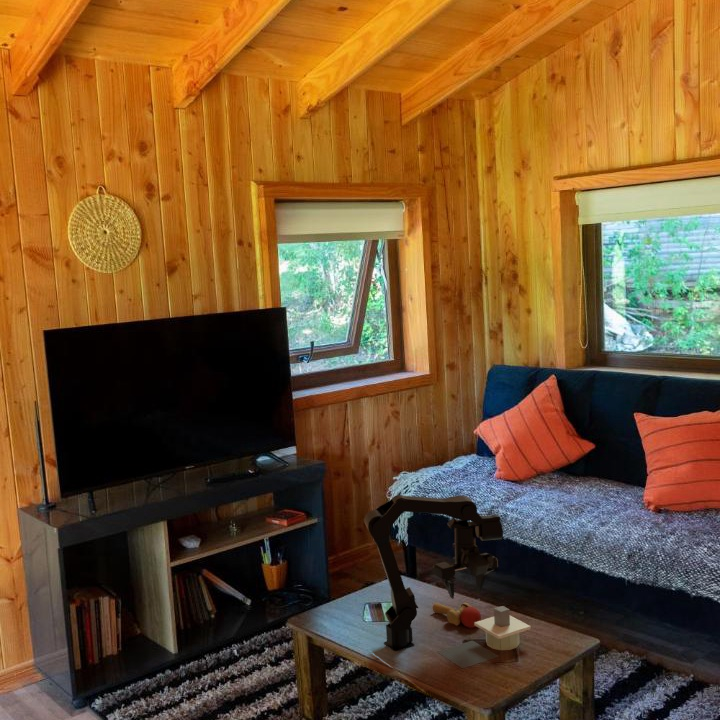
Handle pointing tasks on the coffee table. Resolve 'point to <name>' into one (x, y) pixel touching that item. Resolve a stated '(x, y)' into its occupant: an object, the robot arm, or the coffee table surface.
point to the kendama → (459, 614)
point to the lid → (502, 624)
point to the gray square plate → (467, 654)
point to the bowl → (503, 642)
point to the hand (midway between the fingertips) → (465, 594)
